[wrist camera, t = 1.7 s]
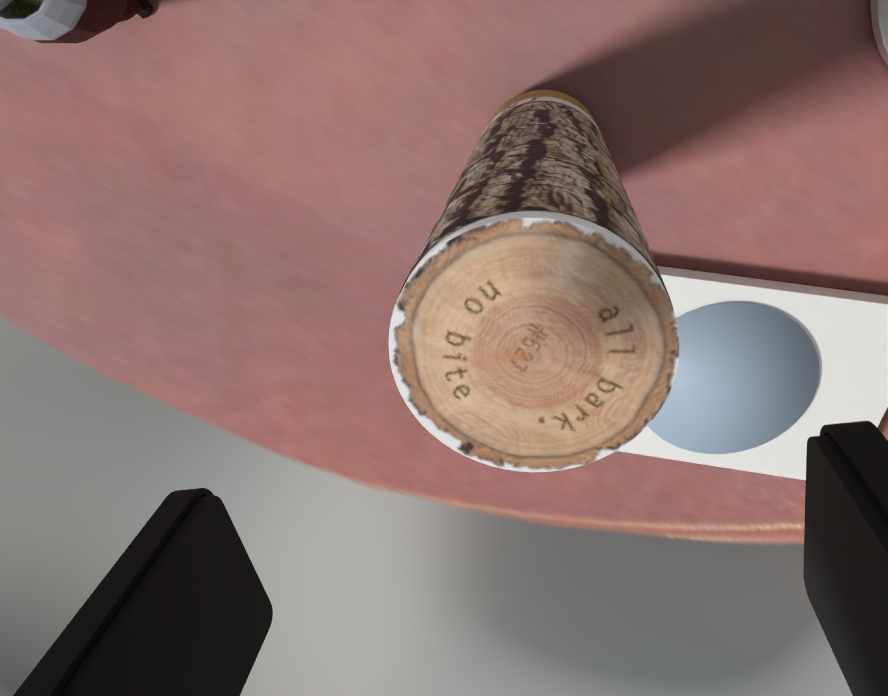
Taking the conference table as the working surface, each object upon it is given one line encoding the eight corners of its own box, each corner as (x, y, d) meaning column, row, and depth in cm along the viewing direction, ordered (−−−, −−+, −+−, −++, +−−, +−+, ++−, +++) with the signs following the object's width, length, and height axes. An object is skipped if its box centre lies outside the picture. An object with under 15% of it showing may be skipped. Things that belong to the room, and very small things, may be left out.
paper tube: (624, 123, 36) (746, 306, 14) (561, 228, 39) (579, 511, 17) (516, 64, 35) (463, 158, 13) (462, 176, 38) (346, 400, 16)
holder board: (922, 300, 38) (937, 312, 36) (838, 472, 44) (848, 488, 42) (582, 255, 39) (583, 265, 38) (547, 427, 46) (547, 441, 44)
